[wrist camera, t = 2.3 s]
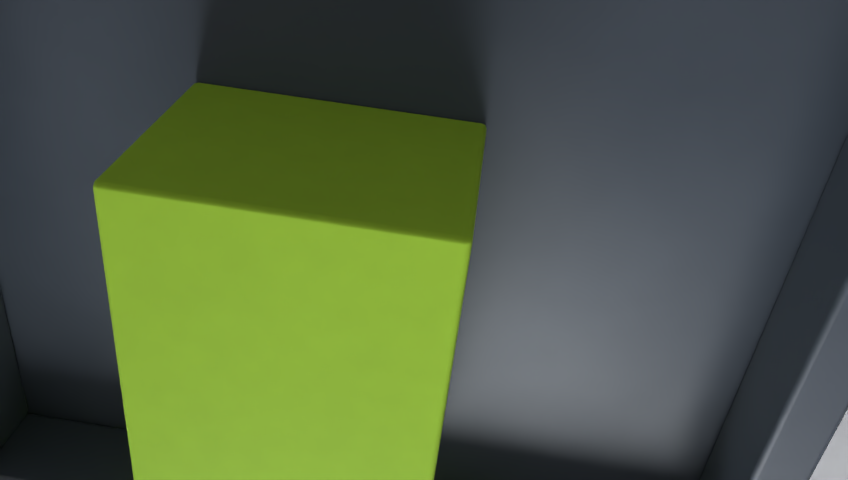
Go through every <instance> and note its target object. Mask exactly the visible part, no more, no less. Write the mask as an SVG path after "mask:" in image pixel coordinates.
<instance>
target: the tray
mask: <svg viewBox="0 0 848 480" xmlns="http://www.w3.org/2000/svg"><path fill="white" fill-rule="evenodd" d="M194 83H205V84H212V85H219V86H226V87H233V88H240V89H247V90H254V91H260V92H267V93H274V94H281V95H288V96H295V97H302V98H309V99H316V100H323V101H330V102H337V103H344V104H351V105H358V106H364V107H371V108H378V109H385V110H392V111H399V112H406V113H413V114H420V115H427V116H434V117H441V118H448V119H455V120H462V121H469V122H475V123H482V124H484V125H486V129H487V130H486V138H485V146H484V154H483V162H482V170H481V178H480V186H479V194H478V202H477V210H476V218H475V226H474V234H473V242H472V248H471V255H470V261H469V267H468V273H467V279H466V285H465V292H464V298H463V304H462V310H461V316H460V322H459V329H458V335H457V341H456V347H455V353H454V359H453V366H452V372H451V378H450V384H449V390H448V397H447V403H446V409H445V415H444V421H443V427H442V434H441V440H440V446H439V452H438V458H437V464H436V471H435V477H434V480H809V479H810V477H811V475H812V474H813V472H814V470H815V468H816V466H817V464H818V462H819V461H820V459H821V457H822V455H823V453H824V451H825V449H826V448H827V446H828V444H829V442H830V440H831V438H832V436H833V435H834V433H835V431H836V429H837V427H838V425H839V423H840V422H841V420H842V418H843V416H844V414H845V412H846V411H847V409H848V0H0V480H134V478H133V471H132V464H131V456H130V449H129V442H128V435H127V428H126V421H125V414H124V406H123V399H122V392H121V385H120V378H119V371H118V364H117V356H116V349H115V342H114V335H113V328H112V321H111V314H110V307H109V299H108V292H107V285H106V278H105V271H104V264H103V257H102V249H101V242H100V235H99V228H98V221H97V214H96V207H95V199H94V192H93V184H94V182H95V180H96V179H97V178H98V177H99V176H100V175H102V174H103V173H104V172H105V171H106V170H107V169H108V168H109V167H110V166H111V165H112V164H113V163H114V162H115V161H116V160H117V159H118V158H119V157H120V156H121V155H122V154H123V153H124V152H125V151H126V150H127V149H128V148H129V147H130V146H131V145H132V144H133V143H134V142H135V141H136V140H137V139H138V138H139V137H140V136H141V135H142V134H143V133H144V132H145V131H146V130H147V129H148V128H149V127H150V126H151V125H153V124H154V123H155V122H156V121H157V120H158V119H159V118H160V117H161V116H162V115H163V114H164V113H165V112H166V111H167V110H168V109H169V108H170V107H171V106H172V105H173V104H174V103H175V102H176V101H177V100H178V99H179V98H180V97H181V96H182V95H183V94H184V93H185V92H186V91H187V90H188V89H189V88H190V87H191V86H192V85H193V84H194Z"/></svg>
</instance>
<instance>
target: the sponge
mask: <svg viewBox="0 0 848 480" xmlns="http://www.w3.org/2000/svg"><path fill="white" fill-rule="evenodd" d="M486 130H487V129H486V125H484V124H482V123H475V122H469V121H462V120H455V119H448V118H441V117H434V116H427V115H420V114H413V113H406V112H399V111H392V110H385V109H378V108H371V107H364V106H358V105H351V104H344V103H337V102H330V101H323V100H316V99H309V98H302V97H295V96H288V95H281V94H274V93H267V92H260V91H254V90H247V89H240V88H233V87H226V86H219V85H212V84H205V83H194V84H193V85H192V86H191V87H190V88H189V89H188V90H187V91H186V92H185V93H184V94H183V95H182V96H181V97H180V98H179V99H178V100H177V101H176V102H175V103H174V104H173V105H172V106H171V107H170V108H169V109H168V110H167V111H166V112H165V113H164V114H163V115H162V116H161V117H160V118H159V119H158V120H157V121H156V122H155V123H154V124H153V125H151V126H150V127H149V128H148V129H147V130H146V131H145V132H144V133H143V134H142V135H141V136H140V137H139V138H138V139H137V140H136V141H135V142H134V143H133V144H132V145H131V146H130V147H129V148H128V149H127V150H126V151H125V152H124V153H123V154H122V155H121V156H120V157H119V158H118V159H117V160H116V161H115V162H114V163H113V164H112V165H111V166H110V167H109V168H108V169H107V170H106V171H105V172H104V173H103V174H102V175H100V176H99V177H98V178H97V179H96V180H95V182H94V184H93V192H94V199H95V207H96V214H97V221H98V228H99V235H100V242H101V249H102V257H103V264H104V271H105V278H106V285H107V292H108V299H109V307H110V314H111V321H112V328H113V335H114V342H115V349H116V356H117V364H118V371H119V378H120V385H121V392H122V399H123V406H124V414H125V421H126V428H127V435H128V442H129V449H130V456H131V464H132V471H133V478H134V480H434V477H435V471H436V464H437V458H438V452H439V446H440V440H441V434H442V427H443V421H444V415H445V409H446V403H447V397H448V390H449V384H450V378H451V372H452V366H453V359H454V353H455V347H456V341H457V335H458V329H459V322H460V316H461V310H462V304H463V298H464V292H465V285H466V279H467V273H468V267H469V261H470V255H471V248H472V242H473V234H474V226H475V218H476V210H477V202H478V194H479V186H480V178H481V170H482V162H483V154H484V146H485V138H486Z"/></svg>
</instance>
